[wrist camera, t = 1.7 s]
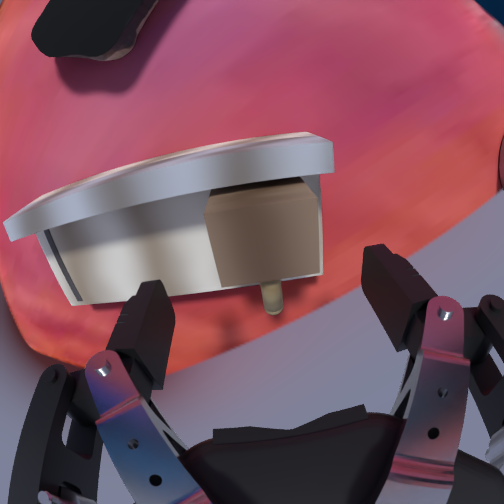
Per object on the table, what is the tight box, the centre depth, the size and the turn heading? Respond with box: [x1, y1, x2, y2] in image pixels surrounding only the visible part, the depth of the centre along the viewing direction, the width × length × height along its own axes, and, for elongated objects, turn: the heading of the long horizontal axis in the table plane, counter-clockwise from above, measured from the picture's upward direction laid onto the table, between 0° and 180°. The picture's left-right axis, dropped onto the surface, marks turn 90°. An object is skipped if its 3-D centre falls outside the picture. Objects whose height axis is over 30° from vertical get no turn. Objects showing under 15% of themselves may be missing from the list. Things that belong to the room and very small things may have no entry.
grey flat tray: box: [3, 132, 334, 306], centre depth 17 cm, size 22×10×6 cm, turn 98°
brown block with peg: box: [203, 176, 320, 315], centre depth 16 cm, size 5×8×5 cm, turn 8°
